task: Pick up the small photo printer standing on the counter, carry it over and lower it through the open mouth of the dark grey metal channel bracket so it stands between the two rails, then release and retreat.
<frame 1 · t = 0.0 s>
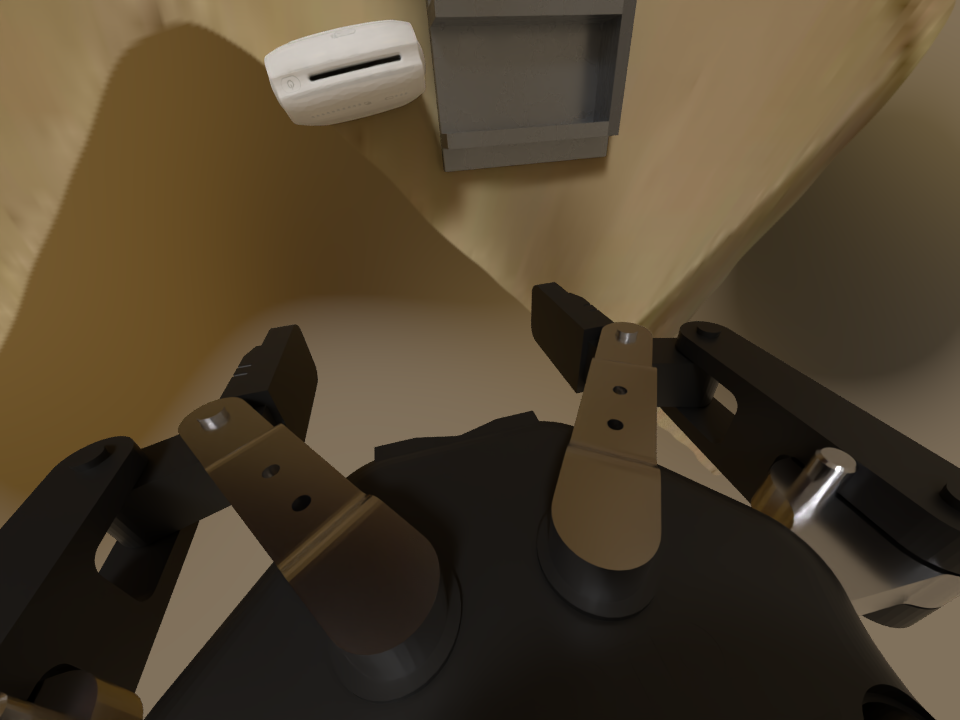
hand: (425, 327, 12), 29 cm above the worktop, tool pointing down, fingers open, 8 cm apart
bracket: (527, 80, 33), on the worktop
photo printer: (356, 89, 31), on the worktop
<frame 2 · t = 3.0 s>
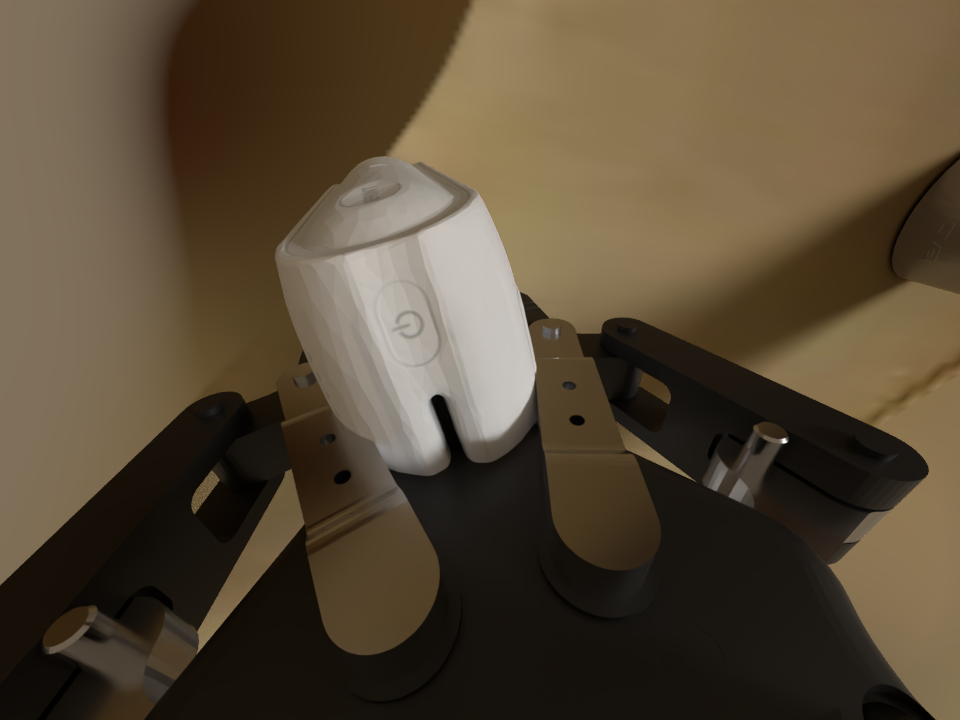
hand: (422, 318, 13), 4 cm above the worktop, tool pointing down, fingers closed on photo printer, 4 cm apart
photo printer: (412, 276, 16), on the worktop, touching gripper
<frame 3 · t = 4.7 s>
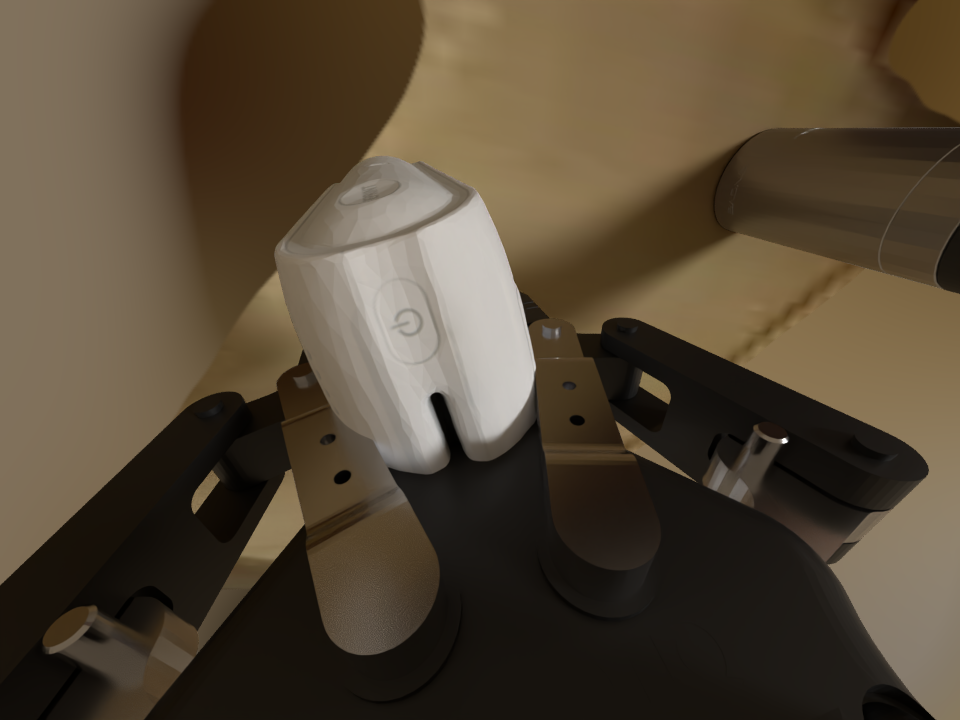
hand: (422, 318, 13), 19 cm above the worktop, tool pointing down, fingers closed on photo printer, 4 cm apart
photo printer: (412, 275, 17), point 14 cm above the worktop, touching gripper
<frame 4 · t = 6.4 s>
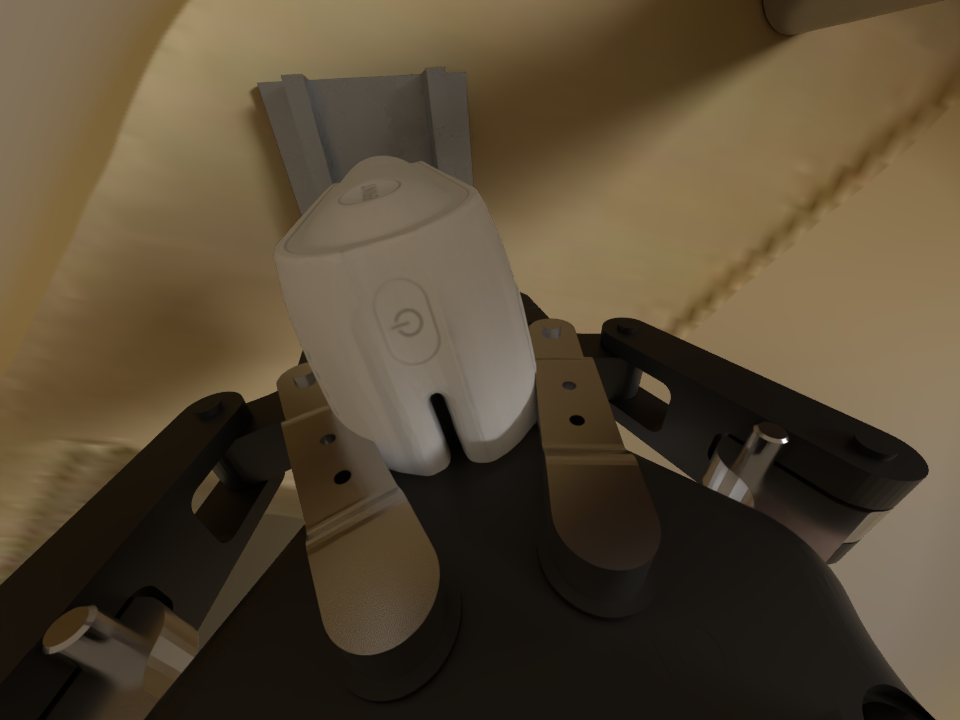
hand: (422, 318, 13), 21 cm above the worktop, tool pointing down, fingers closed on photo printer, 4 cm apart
bracket: (392, 213, 30), on the worktop
photo printer: (412, 275, 16), point 16 cm above the worktop, touching gripper
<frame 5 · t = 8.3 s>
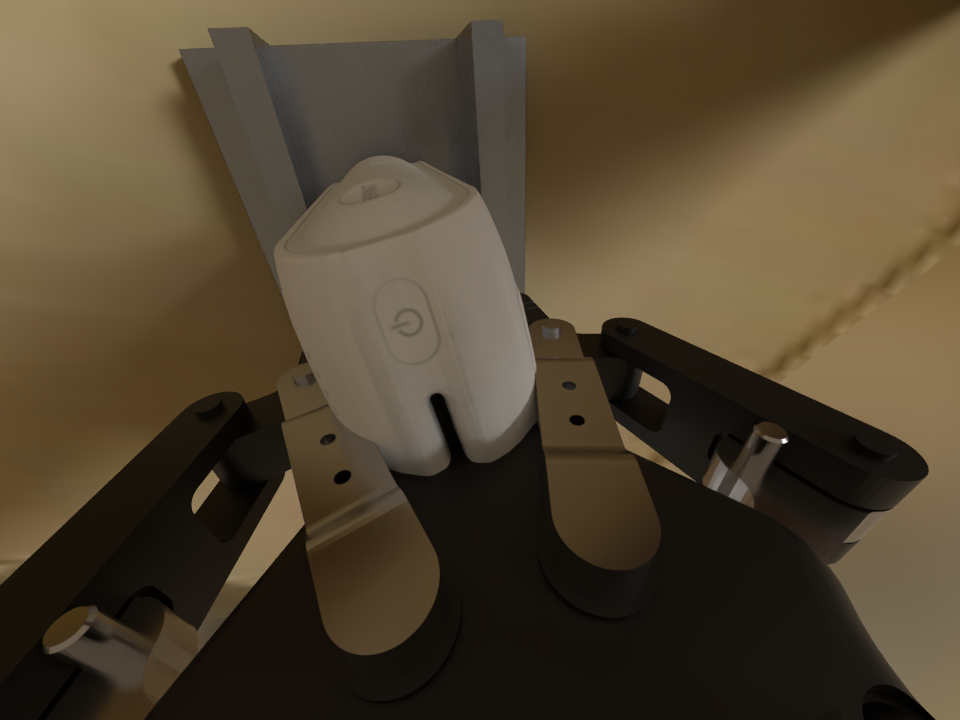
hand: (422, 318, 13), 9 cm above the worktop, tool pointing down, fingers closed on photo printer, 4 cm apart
bracket: (405, 253, 20), on the worktop
photo printer: (412, 275, 16), point 4 cm above the worktop, touching gripper
when the fingers open (7 cm above the worktop, at t = 9.7 s): photo printer drops 2 cm, resting on bracket.
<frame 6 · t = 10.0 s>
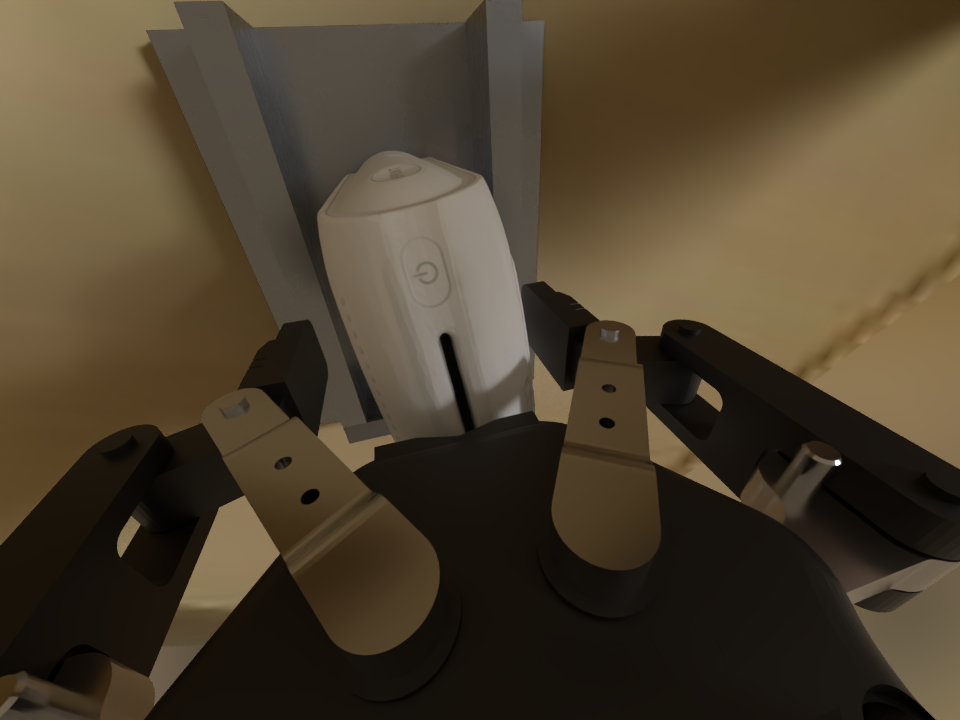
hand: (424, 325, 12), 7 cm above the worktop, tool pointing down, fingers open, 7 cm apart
bracket: (407, 262, 18), on the worktop
photo printer: (415, 262, 18), point 1 cm above the worktop, touching bracket
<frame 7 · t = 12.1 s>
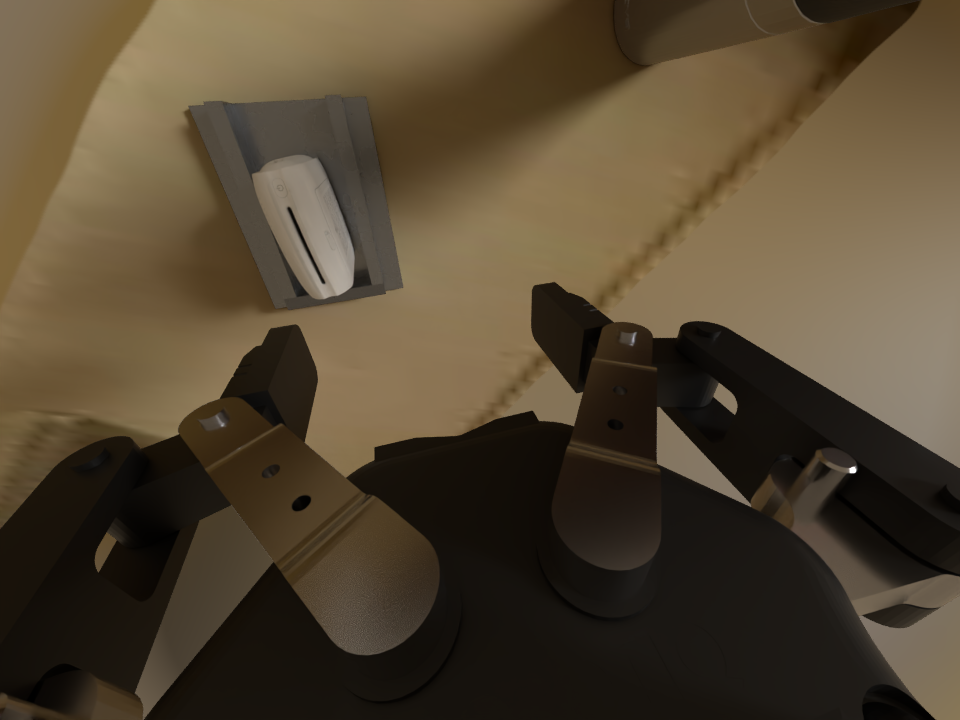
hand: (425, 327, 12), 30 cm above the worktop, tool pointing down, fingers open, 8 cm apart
bracket: (316, 212, 35), on the worktop
photo printer: (319, 212, 35), point 1 cm above the worktop, touching bracket
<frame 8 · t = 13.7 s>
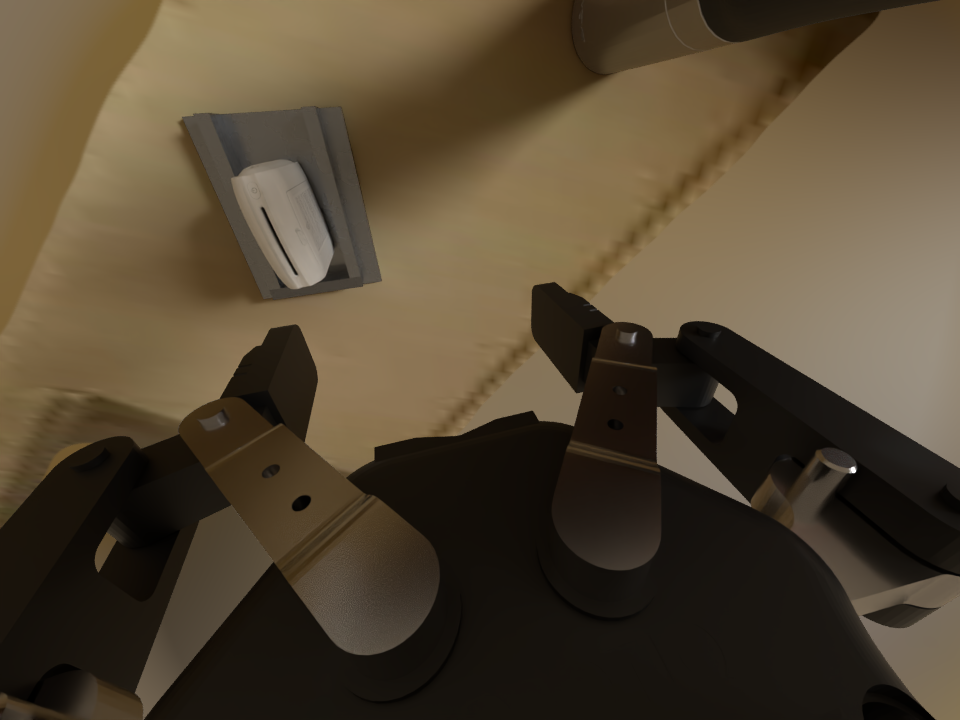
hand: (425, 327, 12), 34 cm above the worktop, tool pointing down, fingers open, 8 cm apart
bracket: (299, 211, 39), on the worktop
photo printer: (302, 211, 38), point 1 cm above the worktop, touching bracket
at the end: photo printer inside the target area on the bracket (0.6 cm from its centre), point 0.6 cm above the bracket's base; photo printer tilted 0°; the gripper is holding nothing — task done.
